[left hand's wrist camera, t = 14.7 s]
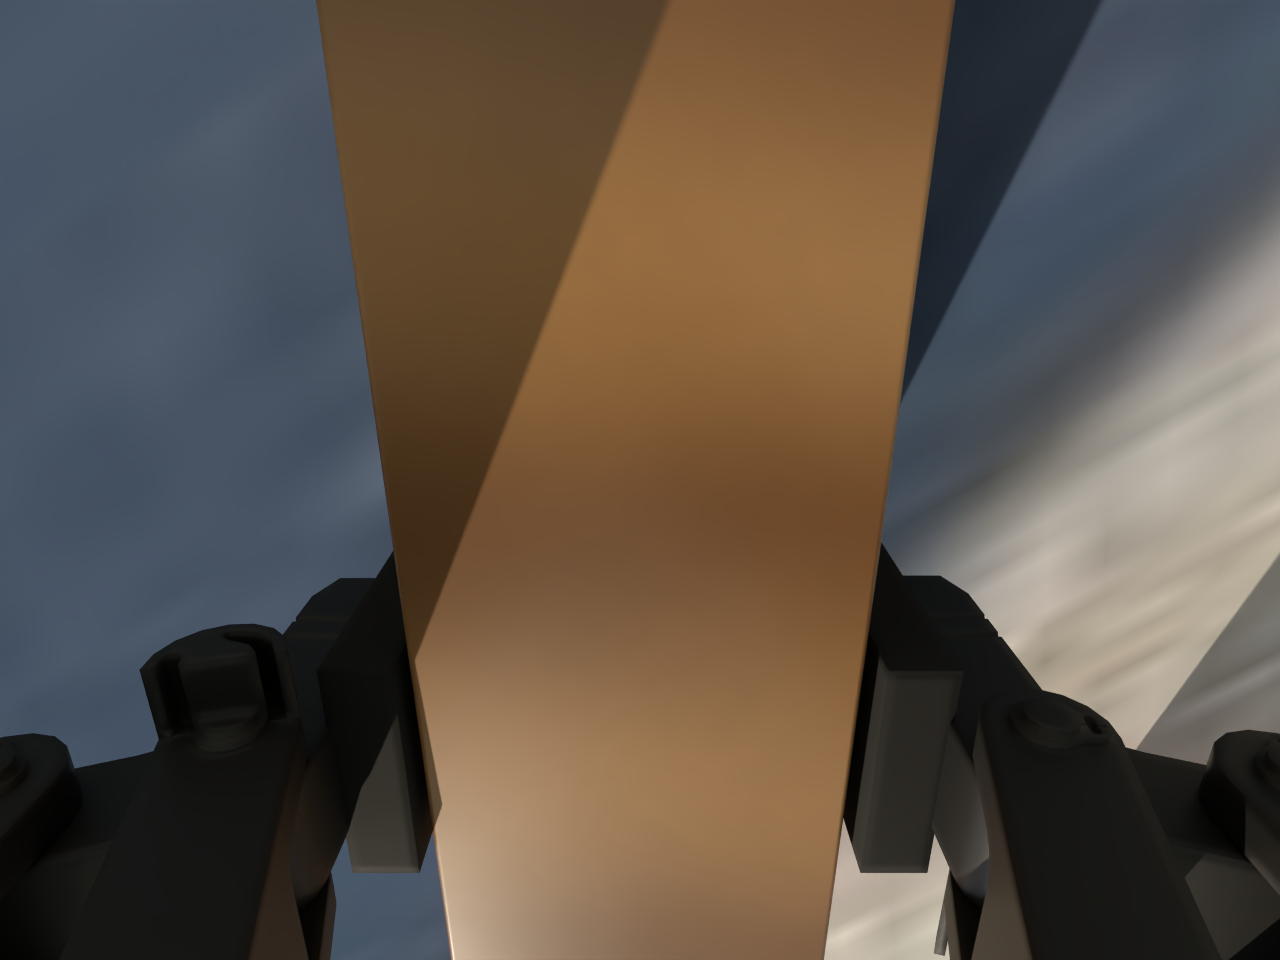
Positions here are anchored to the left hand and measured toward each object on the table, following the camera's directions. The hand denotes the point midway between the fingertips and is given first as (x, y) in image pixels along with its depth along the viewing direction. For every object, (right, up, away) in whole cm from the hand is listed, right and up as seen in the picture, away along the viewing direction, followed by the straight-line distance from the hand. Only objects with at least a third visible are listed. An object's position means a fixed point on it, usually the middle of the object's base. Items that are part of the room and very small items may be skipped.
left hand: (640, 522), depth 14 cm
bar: (0, +25, -8) cm, 26 cm away
